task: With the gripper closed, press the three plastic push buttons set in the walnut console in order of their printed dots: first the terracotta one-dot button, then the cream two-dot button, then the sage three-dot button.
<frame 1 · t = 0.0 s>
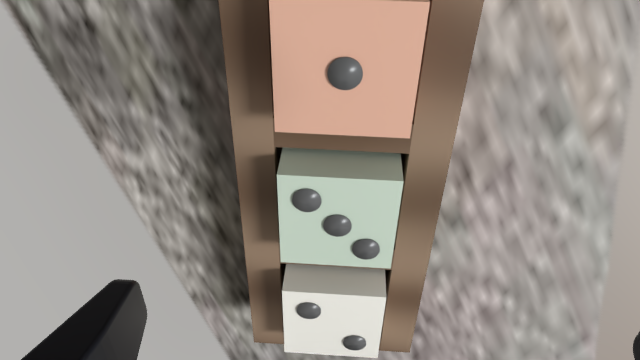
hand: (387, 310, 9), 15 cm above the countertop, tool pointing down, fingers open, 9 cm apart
two dot button: (333, 307, 27), point 3 cm above the countertop, slide at 0.0 cm
one dot button: (346, 58, 18), point 3 cm above the countertop, slide at 0.0 cm
console: (340, 162, 25), on the countertop
three dot button: (338, 206, 23), point 3 cm above the countertop, slide at 0.0 cm
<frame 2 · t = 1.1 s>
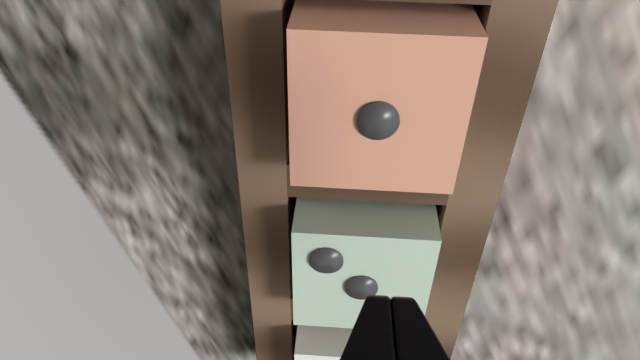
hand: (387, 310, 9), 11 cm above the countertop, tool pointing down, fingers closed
one dot button: (376, 99, 15), point 3 cm above the countertop, slide at 0.0 cm
console: (361, 205, 22), on the countertop
three dot button: (361, 262, 19), point 3 cm above the countertop, slide at 0.0 cm
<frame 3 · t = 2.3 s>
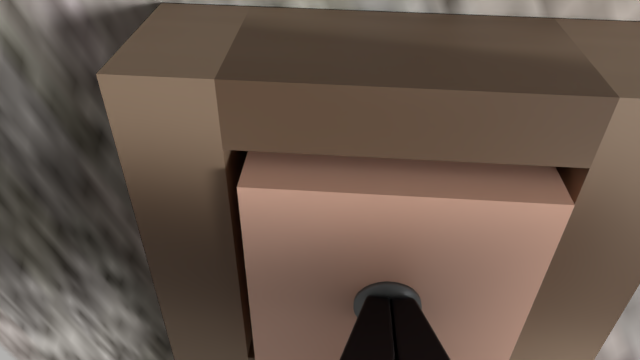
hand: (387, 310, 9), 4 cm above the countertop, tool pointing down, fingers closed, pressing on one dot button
one dot button: (384, 255, 10), point 2 cm above the countertop, slide at 1.0 cm, touching gripper
console: (361, 356, 16), on the countertop
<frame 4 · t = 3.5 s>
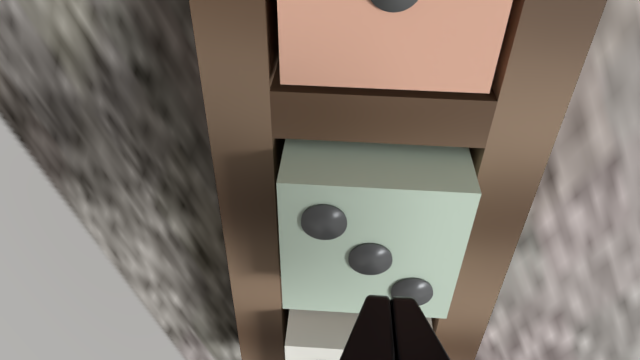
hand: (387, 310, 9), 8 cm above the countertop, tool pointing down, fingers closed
two dot button: (355, 359, 19), point 3 cm above the countertop, slide at 0.0 cm
console: (368, 160, 18), on the countertop
three dot button: (369, 227, 15), point 3 cm above the countertop, slide at 0.0 cm
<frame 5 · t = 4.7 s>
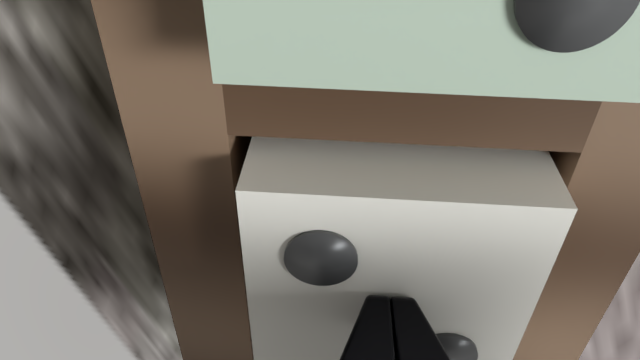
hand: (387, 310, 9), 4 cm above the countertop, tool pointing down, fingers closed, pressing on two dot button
two dot button: (385, 258, 10), point 3 cm above the countertop, slide at 0.5 cm, touching gripper
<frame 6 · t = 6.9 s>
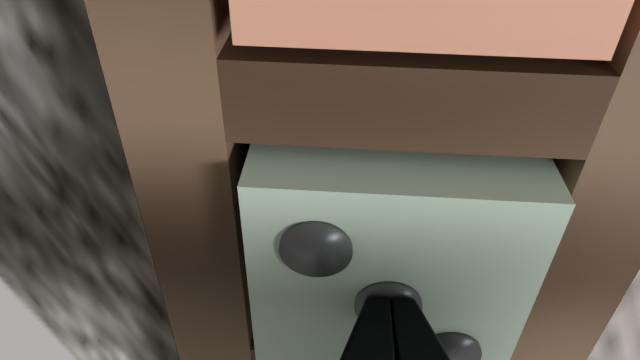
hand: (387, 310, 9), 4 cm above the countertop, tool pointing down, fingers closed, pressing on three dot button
console: (381, 176, 12), on the countertop
three dot button: (385, 254, 10), point 3 cm above the countertop, slide at 0.8 cm, touching gripper
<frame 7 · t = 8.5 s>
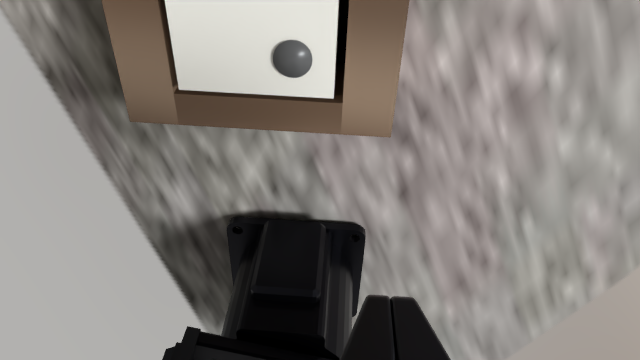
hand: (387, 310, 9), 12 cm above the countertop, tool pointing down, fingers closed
two dot button: (258, 3, 16), point 2 cm above the countertop, slide at 1.2 cm
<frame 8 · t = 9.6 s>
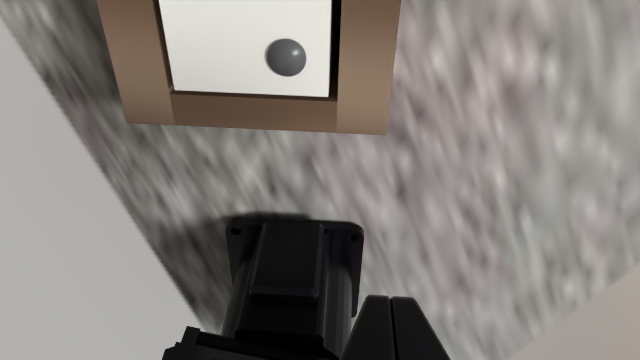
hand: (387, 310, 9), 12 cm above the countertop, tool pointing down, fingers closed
two dot button: (252, 3, 16), point 2 cm above the countertop, slide at 1.2 cm
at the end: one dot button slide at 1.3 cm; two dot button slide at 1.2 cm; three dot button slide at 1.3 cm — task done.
